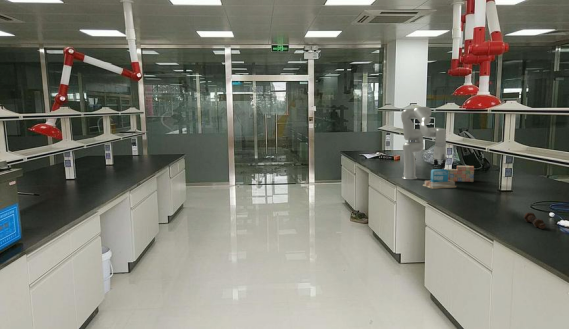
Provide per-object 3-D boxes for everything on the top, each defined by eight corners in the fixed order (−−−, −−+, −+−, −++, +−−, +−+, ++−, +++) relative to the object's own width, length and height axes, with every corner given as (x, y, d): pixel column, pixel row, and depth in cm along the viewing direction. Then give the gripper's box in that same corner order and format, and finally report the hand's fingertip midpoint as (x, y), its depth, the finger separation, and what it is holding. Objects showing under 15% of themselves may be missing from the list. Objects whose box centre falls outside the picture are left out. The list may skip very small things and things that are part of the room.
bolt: (540, 233, 202) (527, 223, 217) (550, 228, 201) (536, 219, 216) (535, 223, 202) (521, 214, 216) (545, 218, 201) (531, 210, 215)
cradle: (422, 185, 321) (422, 180, 321) (445, 184, 325) (446, 179, 324) (432, 188, 308) (432, 183, 307) (456, 187, 311) (456, 182, 311)
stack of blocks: (445, 181, 338) (445, 166, 336) (444, 179, 344) (445, 165, 342) (473, 181, 332) (474, 166, 331) (472, 180, 338) (472, 165, 336)
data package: (432, 185, 314) (433, 170, 312) (430, 184, 318) (430, 169, 317) (448, 185, 314) (448, 169, 313) (445, 184, 319) (446, 169, 317)
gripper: (429, 143, 320) (428, 165, 323) (442, 146, 303) (441, 168, 306) (438, 143, 321) (437, 164, 324) (451, 145, 304) (450, 168, 307)
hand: (439, 166), depth 315 cm, fingers open, 9 cm apart
